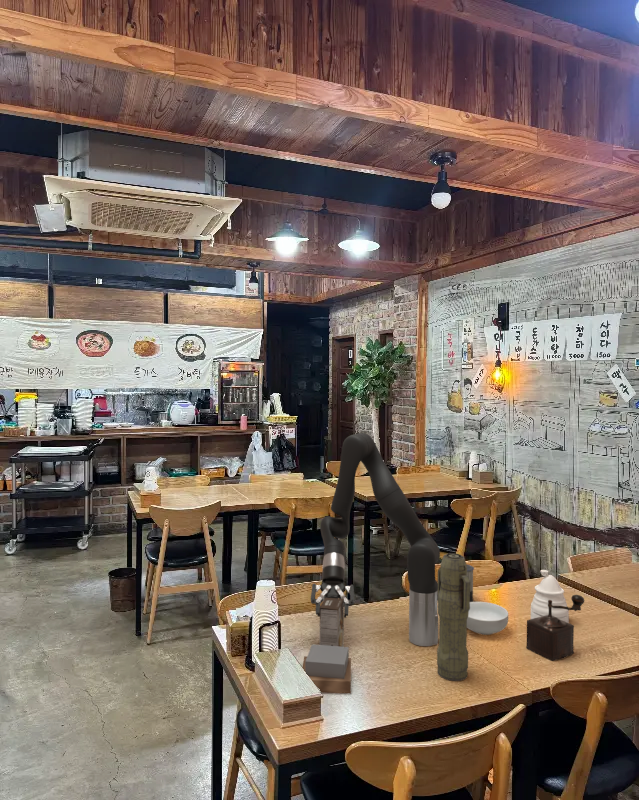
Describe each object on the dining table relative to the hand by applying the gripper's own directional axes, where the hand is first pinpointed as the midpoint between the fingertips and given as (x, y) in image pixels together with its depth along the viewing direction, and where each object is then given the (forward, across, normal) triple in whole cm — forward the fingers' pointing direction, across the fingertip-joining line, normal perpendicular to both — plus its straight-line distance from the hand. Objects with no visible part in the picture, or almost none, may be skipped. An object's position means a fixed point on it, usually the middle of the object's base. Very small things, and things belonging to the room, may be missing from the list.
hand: (331, 616), depth 187 cm
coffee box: (+10, 0, +5) cm, 11 cm away
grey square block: (+19, 0, -9) cm, 21 cm away
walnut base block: (+22, -1, -6) cm, 23 cm away
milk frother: (-24, +46, +39) cm, 64 cm away
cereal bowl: (-5, +52, +20) cm, 56 cm away
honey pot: (-12, +78, +27) cm, 84 cm away
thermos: (+17, +36, -2) cm, 40 cm away
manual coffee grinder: (+4, +72, +10) cm, 73 cm away
